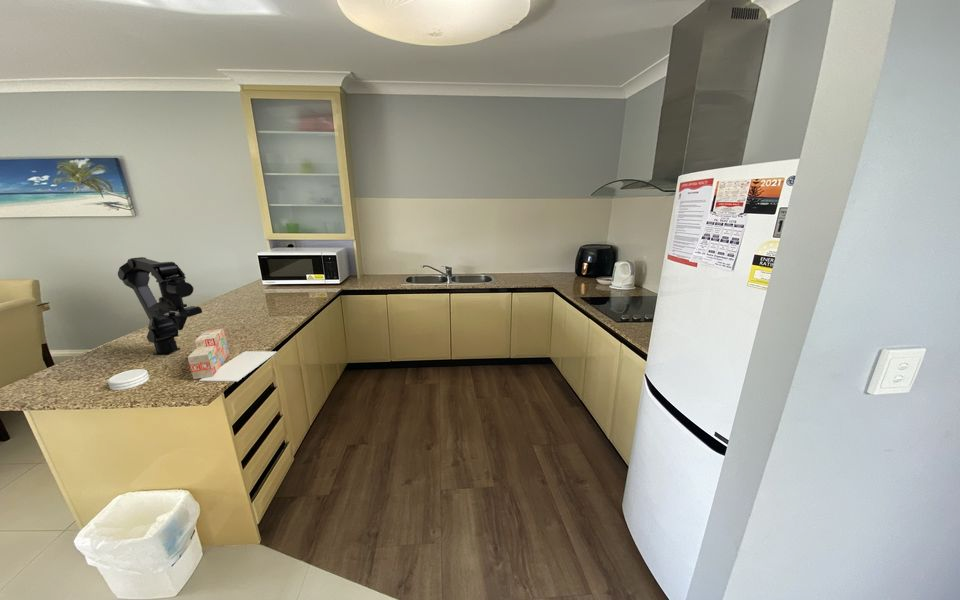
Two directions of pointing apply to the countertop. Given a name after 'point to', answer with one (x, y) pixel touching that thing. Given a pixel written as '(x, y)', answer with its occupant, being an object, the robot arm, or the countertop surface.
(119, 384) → the white ridged disc
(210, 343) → the stack of blocks
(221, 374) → the mat
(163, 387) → the countertop surface
